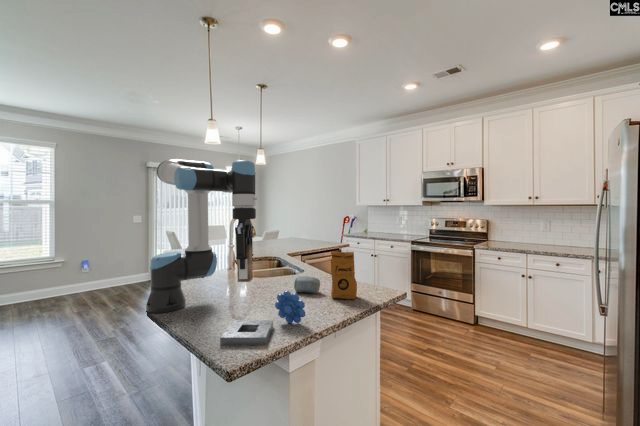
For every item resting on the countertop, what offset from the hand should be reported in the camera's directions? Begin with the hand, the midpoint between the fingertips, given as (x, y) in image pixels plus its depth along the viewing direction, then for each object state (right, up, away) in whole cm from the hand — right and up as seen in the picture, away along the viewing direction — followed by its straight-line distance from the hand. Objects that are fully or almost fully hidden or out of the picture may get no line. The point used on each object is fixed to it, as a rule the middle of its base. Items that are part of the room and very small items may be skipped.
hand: (245, 277), depth 97 cm
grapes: (+14, -19, +9) cm, 26 cm away
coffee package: (+37, -19, +41) cm, 58 cm away
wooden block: (0, -1, 0) cm, 1 cm away
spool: (+19, -19, +50) cm, 57 cm away
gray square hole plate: (+1, -19, -1) cm, 19 cm away
